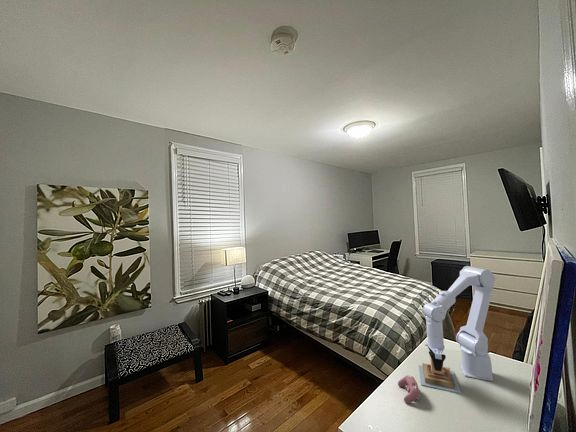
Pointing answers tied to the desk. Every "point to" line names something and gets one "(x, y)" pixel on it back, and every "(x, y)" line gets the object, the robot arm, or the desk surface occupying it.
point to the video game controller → (410, 388)
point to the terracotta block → (434, 368)
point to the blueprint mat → (437, 385)
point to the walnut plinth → (438, 377)
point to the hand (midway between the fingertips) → (437, 366)
